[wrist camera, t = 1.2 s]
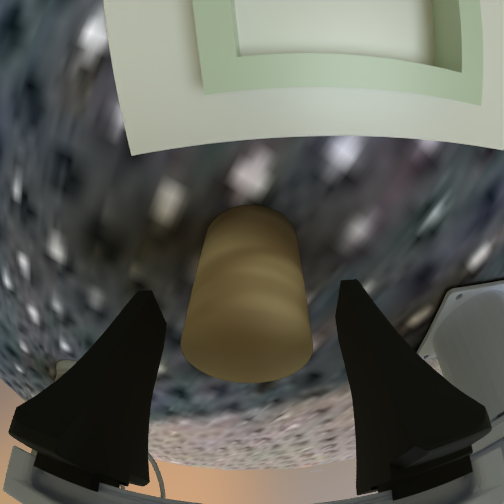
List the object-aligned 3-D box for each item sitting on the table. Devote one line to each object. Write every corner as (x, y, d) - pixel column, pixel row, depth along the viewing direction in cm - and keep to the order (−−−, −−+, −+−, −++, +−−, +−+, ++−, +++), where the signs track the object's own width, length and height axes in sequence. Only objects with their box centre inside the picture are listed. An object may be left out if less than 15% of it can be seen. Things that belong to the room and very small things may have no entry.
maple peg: (297, 201, 13) (317, 306, 8) (297, 277, 15) (308, 380, 11) (197, 209, 13) (163, 312, 8) (213, 281, 16) (197, 382, 11)
